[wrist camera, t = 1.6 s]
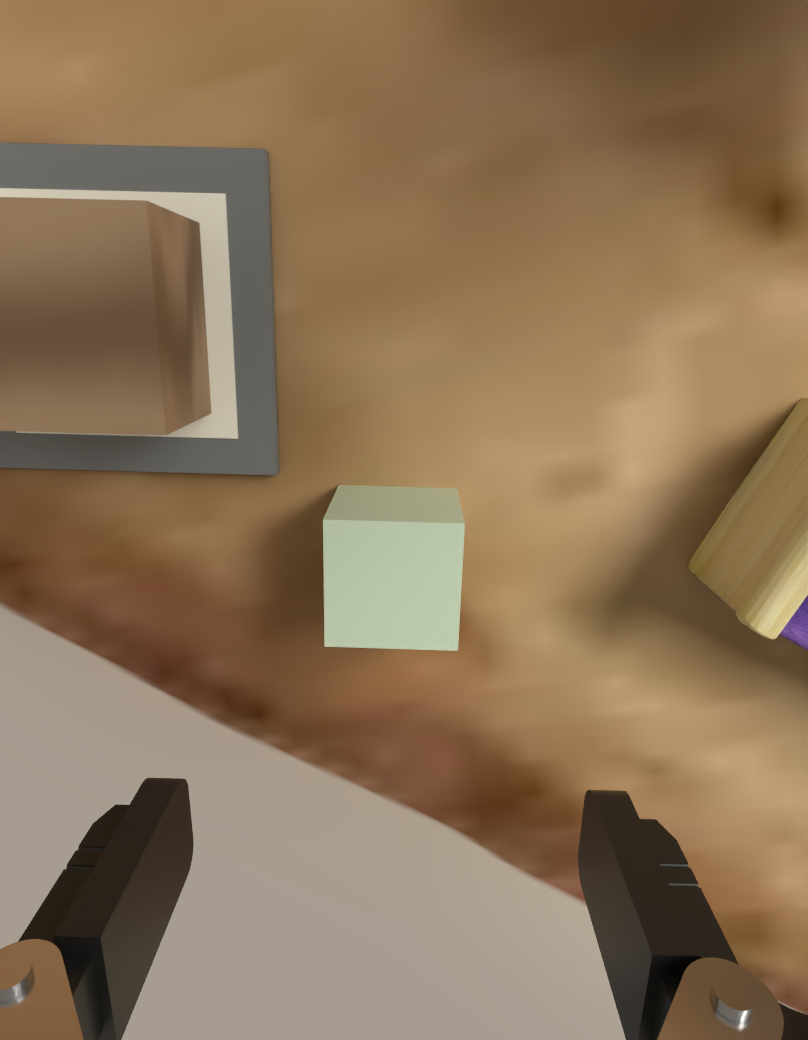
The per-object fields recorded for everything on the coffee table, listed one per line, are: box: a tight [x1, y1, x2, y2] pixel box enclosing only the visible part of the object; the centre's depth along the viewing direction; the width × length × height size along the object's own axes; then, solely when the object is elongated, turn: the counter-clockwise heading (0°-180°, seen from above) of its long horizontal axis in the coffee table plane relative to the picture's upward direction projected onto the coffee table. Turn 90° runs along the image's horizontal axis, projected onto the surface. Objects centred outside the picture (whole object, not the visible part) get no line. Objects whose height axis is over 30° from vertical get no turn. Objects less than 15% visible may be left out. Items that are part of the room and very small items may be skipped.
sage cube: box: [323, 485, 465, 651], centre depth 26 cm, size 5×5×5 cm
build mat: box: [0, 143, 279, 475], centre depth 26 cm, size 12×12×1 cm
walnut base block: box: [0, 197, 211, 435], centre depth 23 cm, size 7×7×5 cm
